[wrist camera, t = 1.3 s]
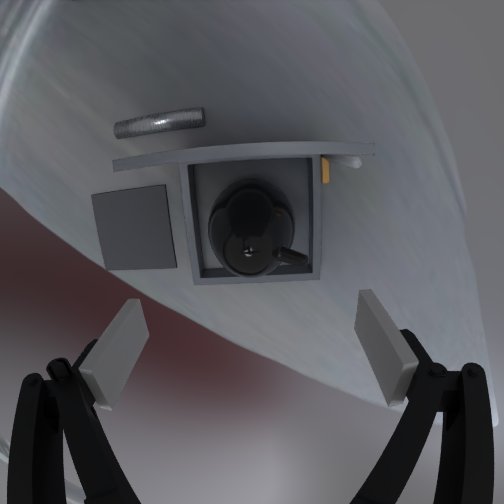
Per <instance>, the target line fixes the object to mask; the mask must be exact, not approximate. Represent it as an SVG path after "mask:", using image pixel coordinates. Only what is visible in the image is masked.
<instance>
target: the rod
mask: <svg viewBox="0 0 504 504" xmlns="http://www.w3.org/2000/svg"><path fill="white" fill-rule="evenodd" d="M204 124H205V120H204V110H203V108H194V109H187V110H180V111H173V112H167V113H161V114H155V115H150V116H145V117H140V118H135V119H130V120H126V121H121V122H117V123H115V125H114V135H115V137H116V138H117V139H122V138H127V137H132V136H137V135H143V134H148V133H154V132H160V131H166V130H173V129H180V128H188V127H196V126H204Z"/></svg>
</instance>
